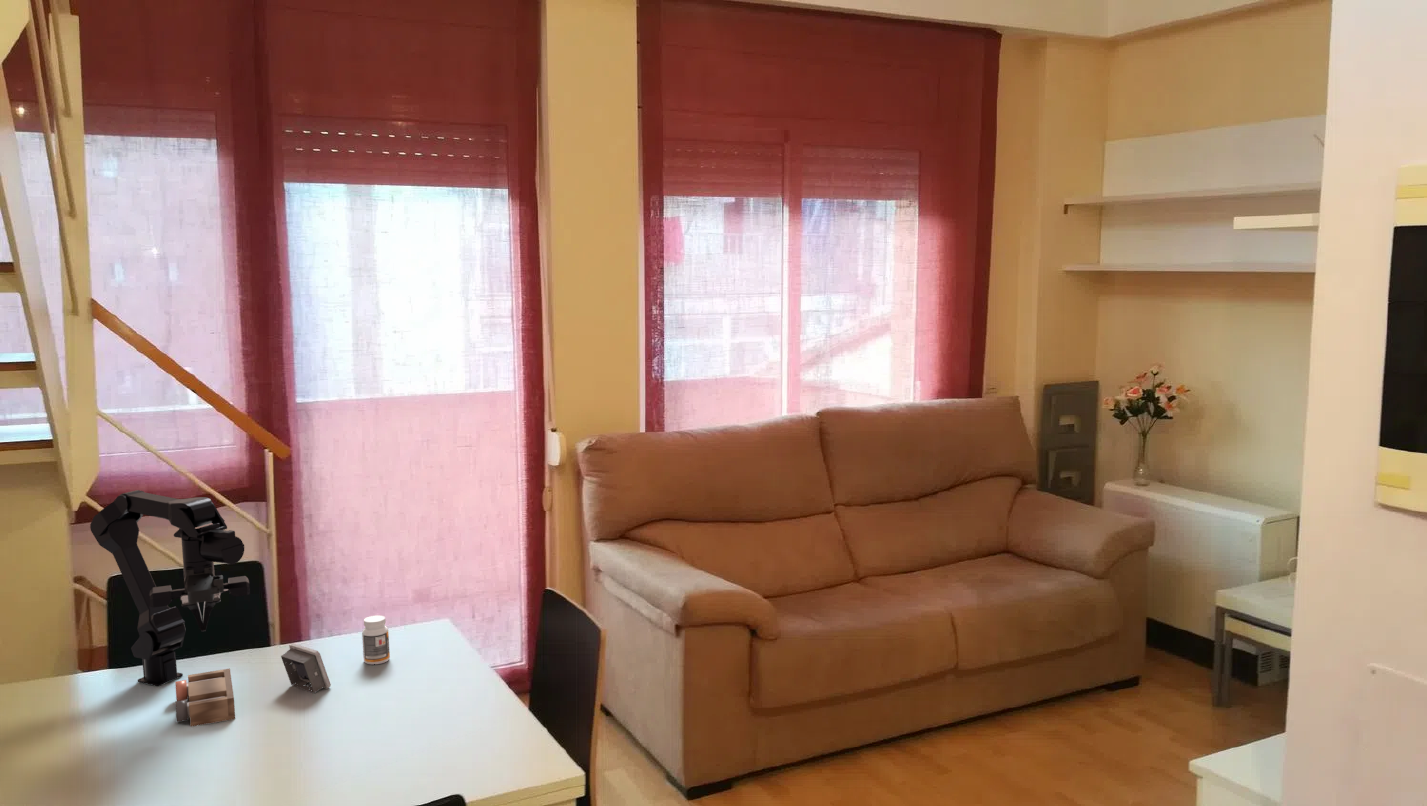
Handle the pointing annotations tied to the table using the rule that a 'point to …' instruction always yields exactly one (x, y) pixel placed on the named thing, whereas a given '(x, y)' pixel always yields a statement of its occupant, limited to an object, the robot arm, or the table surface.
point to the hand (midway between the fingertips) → (203, 630)
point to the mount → (209, 689)
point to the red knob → (183, 689)
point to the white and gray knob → (184, 709)
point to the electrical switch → (305, 668)
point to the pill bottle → (375, 640)
